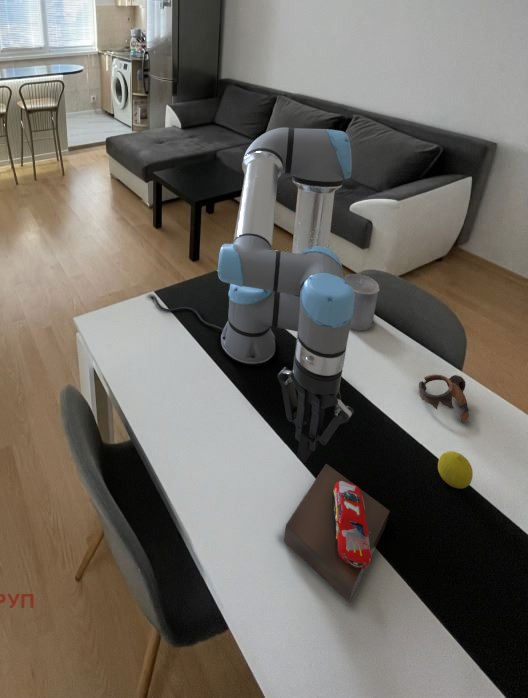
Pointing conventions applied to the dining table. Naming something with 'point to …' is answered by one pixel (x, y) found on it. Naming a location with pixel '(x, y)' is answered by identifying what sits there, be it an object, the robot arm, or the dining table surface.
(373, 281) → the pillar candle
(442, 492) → the dining table surface
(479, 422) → the dining table surface
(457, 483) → the lemon
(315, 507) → the walnut step
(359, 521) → the race car
